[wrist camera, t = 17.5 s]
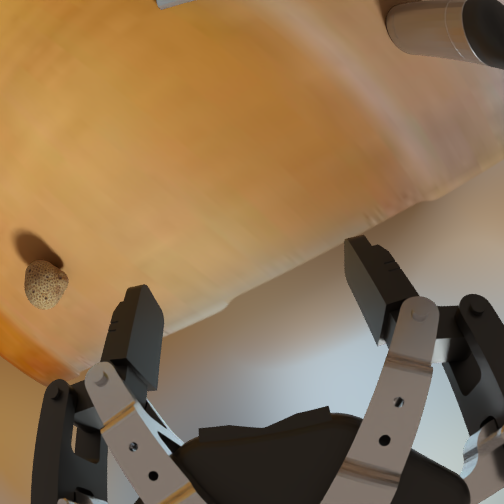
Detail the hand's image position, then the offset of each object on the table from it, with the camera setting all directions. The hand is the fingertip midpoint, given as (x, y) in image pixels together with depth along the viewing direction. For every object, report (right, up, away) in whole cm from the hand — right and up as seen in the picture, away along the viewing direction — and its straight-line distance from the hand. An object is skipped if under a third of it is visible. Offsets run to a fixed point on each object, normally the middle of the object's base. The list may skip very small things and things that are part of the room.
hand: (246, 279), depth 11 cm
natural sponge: (-40, -2, +38) cm, 55 cm away
